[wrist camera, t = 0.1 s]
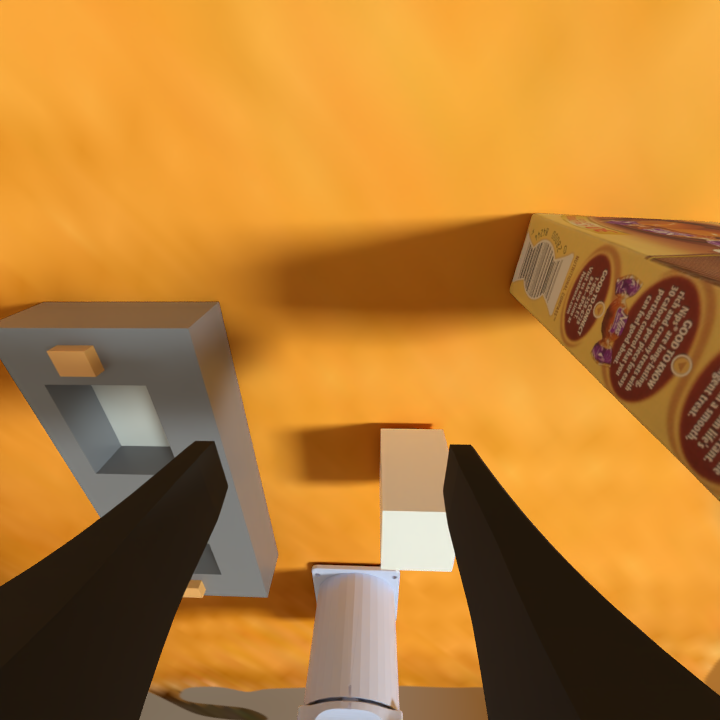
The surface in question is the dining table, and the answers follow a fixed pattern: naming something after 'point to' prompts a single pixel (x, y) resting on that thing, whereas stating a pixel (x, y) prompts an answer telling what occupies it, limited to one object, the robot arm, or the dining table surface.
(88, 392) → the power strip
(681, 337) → the candy box
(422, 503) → the plug
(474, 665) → the dining table surface
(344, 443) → the dining table surface
